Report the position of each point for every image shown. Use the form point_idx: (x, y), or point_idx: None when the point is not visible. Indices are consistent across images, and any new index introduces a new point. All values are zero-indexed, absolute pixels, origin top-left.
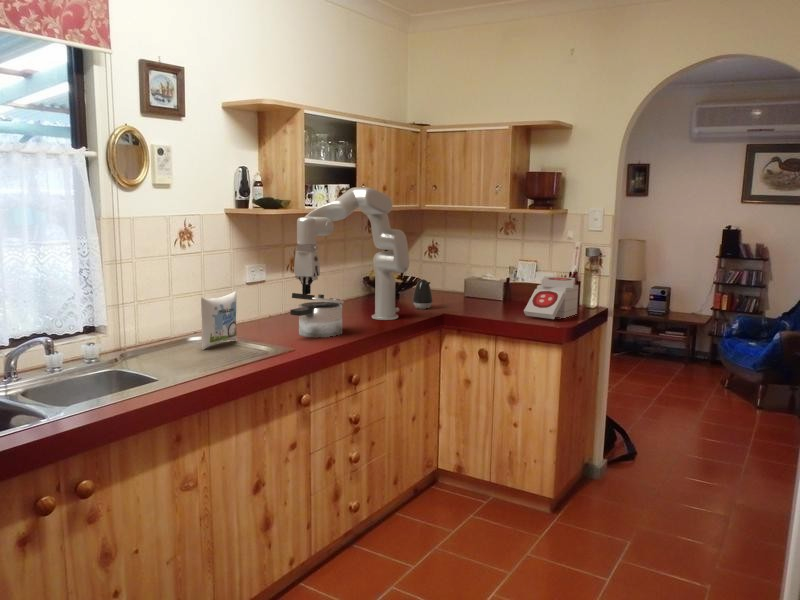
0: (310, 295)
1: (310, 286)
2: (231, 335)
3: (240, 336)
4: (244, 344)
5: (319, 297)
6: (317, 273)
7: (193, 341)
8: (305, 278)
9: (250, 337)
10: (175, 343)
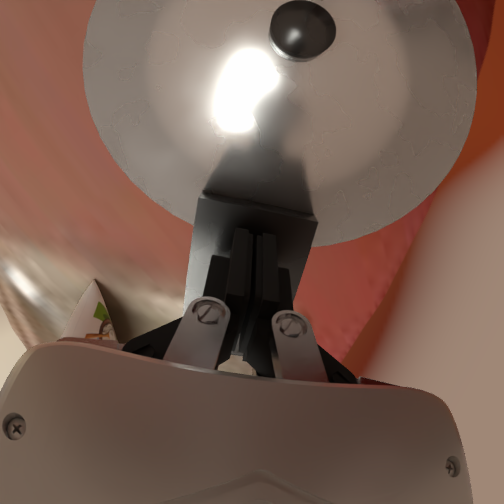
0: (300, 273)
1: (292, 304)
2: (113, 329)
3: (61, 232)
4: (145, 305)
5: (296, 61)
6: (422, 421)
7: (43, 306)
8: (197, 365)
9: (90, 233)
10: (41, 325)
